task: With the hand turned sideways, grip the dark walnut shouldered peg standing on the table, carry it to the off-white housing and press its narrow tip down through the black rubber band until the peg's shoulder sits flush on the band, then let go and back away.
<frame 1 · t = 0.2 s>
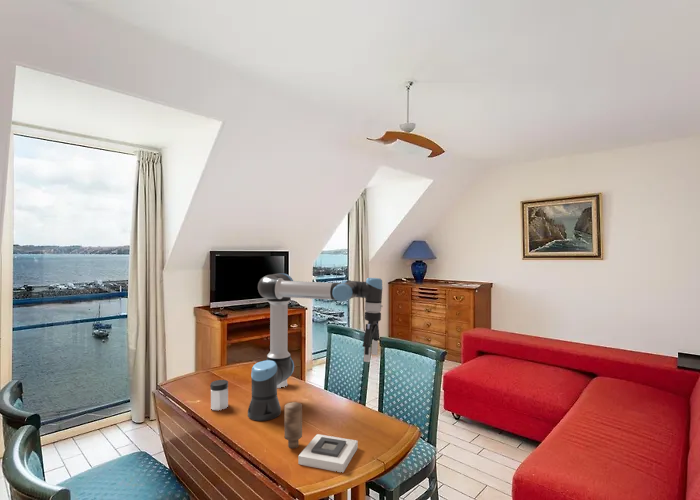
hand: (370, 358, 176), 27 cm above the table, tool pointing down, fingers open, 13 cm apart
housing: (329, 456, 143), on the table
peg: (293, 445, 150), on the table
jar: (219, 407, 187), on the table
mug: (277, 386, 215), on the table
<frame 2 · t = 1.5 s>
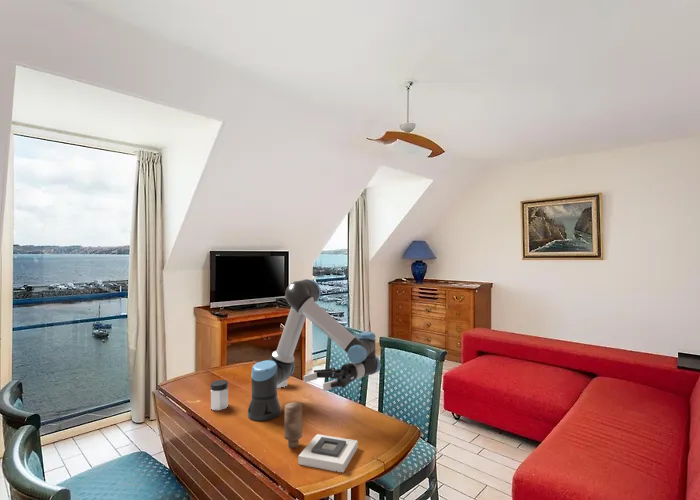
hand: (313, 383, 157), 22 cm above the table, tool horizontal, fingers open, 13 cm apart
nothing on the table moved.
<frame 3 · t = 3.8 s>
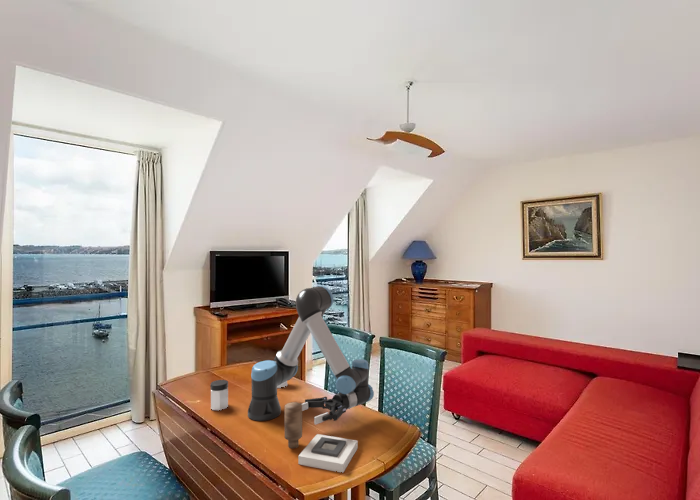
hand: (304, 415, 153), 11 cm above the table, tool horizontal, fingers open, 13 cm apart
nothing on the table moved.
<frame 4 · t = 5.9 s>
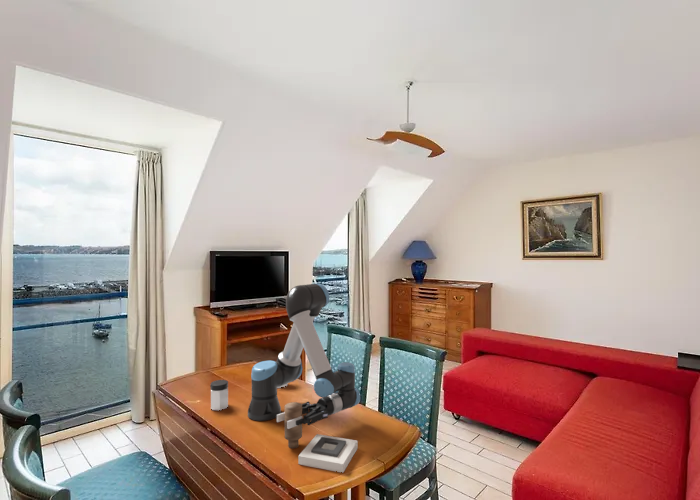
hand: (282, 421, 147), 11 cm above the table, tool horizontal, fingers closed on peg, 7 cm apart
peg: (293, 445, 150), on the table, touching gripper
everything else where it was.
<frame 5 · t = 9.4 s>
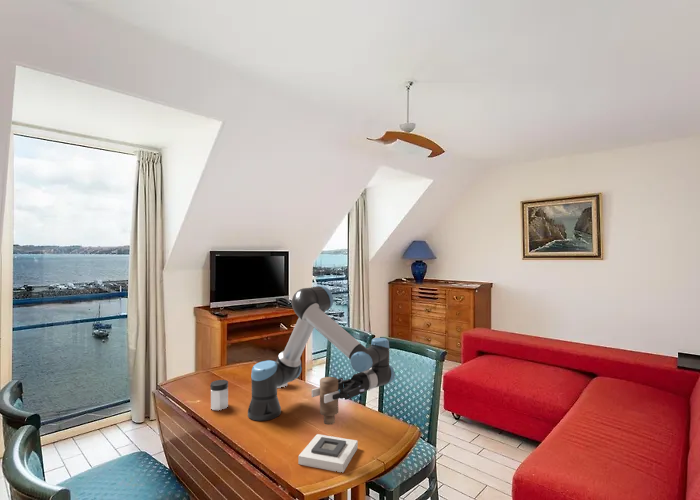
hand: (318, 396, 139), 24 cm above the table, tool horizontal, fingers closed on peg, 7 cm apart
peg: (329, 422, 143), point 13 cm above the table, touching gripper
everything else where it was.
when the fingers open (11 cm above the table, at t = 12.7 s): peg stays where it is, resting on housing.
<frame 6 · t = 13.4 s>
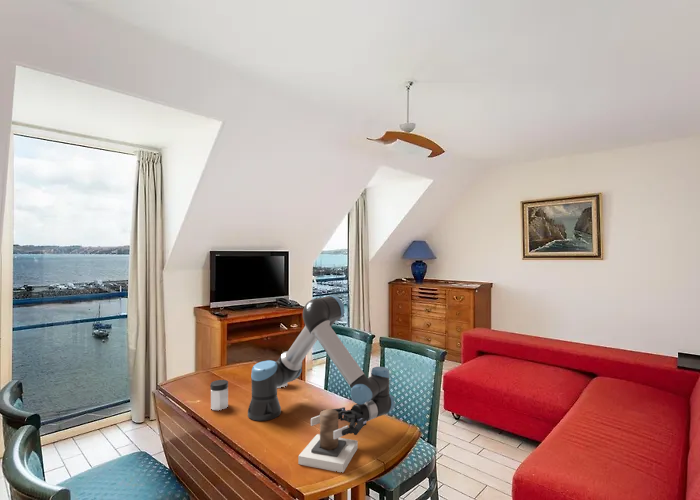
hand: (322, 428, 141), 11 cm above the table, tool horizontal, fingers open, 13 cm apart
peg: (329, 455, 143), resting on housing
everything else where it was.
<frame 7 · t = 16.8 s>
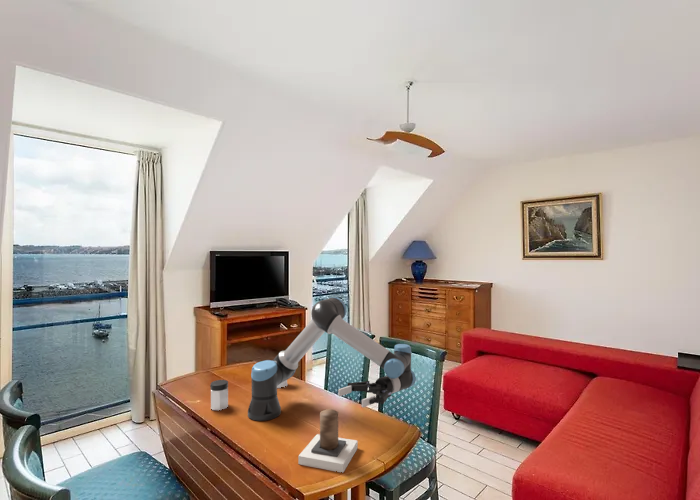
hand: (350, 397, 149), 19 cm above the table, tool horizontal, fingers open, 13 cm apart
nothing on the table moved.
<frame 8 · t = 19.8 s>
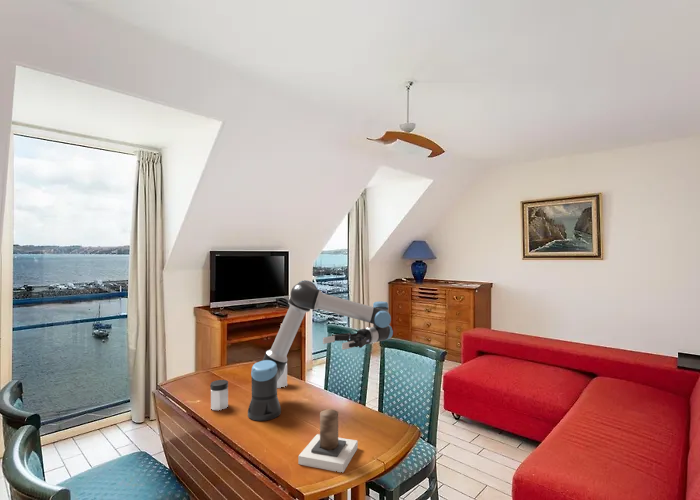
hand: (332, 343, 171), 35 cm above the table, tool horizontal, fingers open, 13 cm apart
nothing on the table moved.
at the end: peg 0.0 cm off-centre on the housing, point 0.2 cm above the housing's base; peg tilted 0°; the gripper is holding nothing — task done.
